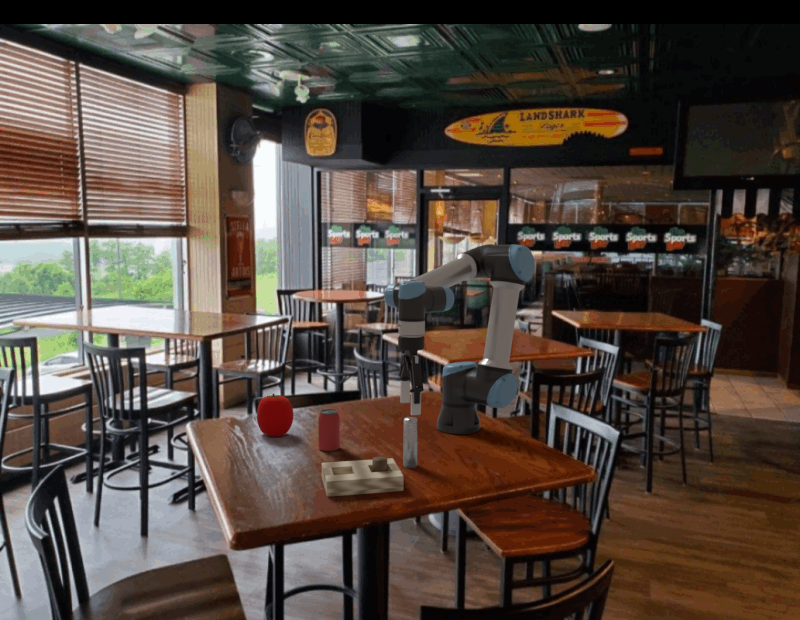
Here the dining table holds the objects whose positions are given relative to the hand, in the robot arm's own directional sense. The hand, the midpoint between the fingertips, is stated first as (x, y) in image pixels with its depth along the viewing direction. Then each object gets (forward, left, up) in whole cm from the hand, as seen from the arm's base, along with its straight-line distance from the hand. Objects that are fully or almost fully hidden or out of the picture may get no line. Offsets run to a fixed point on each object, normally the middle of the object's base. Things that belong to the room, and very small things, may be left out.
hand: (410, 408), depth 186 cm
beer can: (+21, -20, -17) cm, 34 cm away
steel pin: (0, 0, -17) cm, 17 cm away
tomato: (+37, -37, -17) cm, 56 cm away
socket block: (+16, +11, -17) cm, 26 cm away
